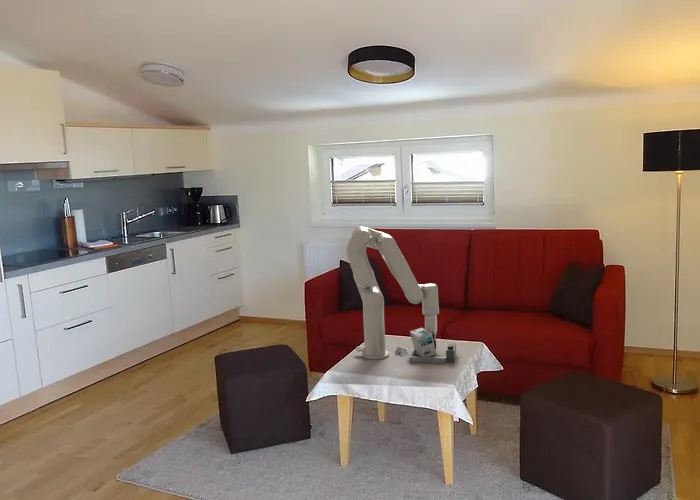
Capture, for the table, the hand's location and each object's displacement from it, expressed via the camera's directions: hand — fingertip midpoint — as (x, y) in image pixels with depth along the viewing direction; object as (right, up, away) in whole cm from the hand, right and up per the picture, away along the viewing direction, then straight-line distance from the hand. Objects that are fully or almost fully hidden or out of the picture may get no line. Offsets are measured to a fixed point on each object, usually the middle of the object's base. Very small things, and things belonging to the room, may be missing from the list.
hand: (432, 348), depth 289 cm
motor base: (-1, -3, -8) cm, 9 cm away
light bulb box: (-4, -2, -4) cm, 6 cm away
